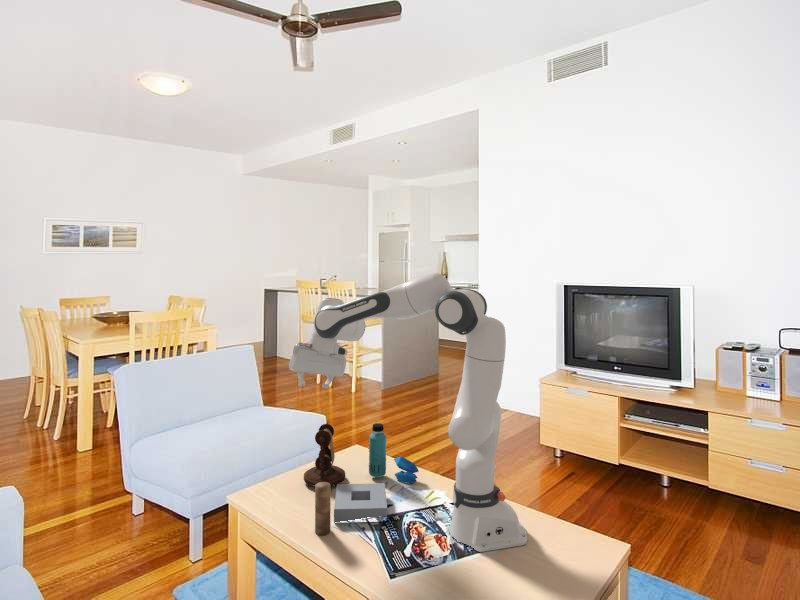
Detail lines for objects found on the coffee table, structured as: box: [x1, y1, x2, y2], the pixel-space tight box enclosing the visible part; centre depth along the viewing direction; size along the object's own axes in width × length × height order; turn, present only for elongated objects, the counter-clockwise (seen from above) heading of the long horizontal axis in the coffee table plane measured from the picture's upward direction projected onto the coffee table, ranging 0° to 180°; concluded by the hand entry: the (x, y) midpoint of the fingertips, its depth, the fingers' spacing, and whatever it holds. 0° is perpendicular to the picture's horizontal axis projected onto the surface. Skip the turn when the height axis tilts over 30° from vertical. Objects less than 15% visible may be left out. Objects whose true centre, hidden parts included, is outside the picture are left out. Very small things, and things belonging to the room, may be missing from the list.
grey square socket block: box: [333, 482, 388, 524], centre depth 151 cm, size 16×16×4 cm
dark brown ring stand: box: [303, 423, 346, 489], centre depth 169 cm, size 15×15×20 cm
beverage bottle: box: [368, 422, 387, 478], centre depth 173 cm, size 6×7×20 cm
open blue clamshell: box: [393, 456, 420, 484], centre depth 171 cm, size 7×8×11 cm
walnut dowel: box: [314, 482, 332, 537], centre depth 138 cm, size 4×4×14 cm
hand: (313, 387), depth 156 cm, fingers open, 8 cm apart
